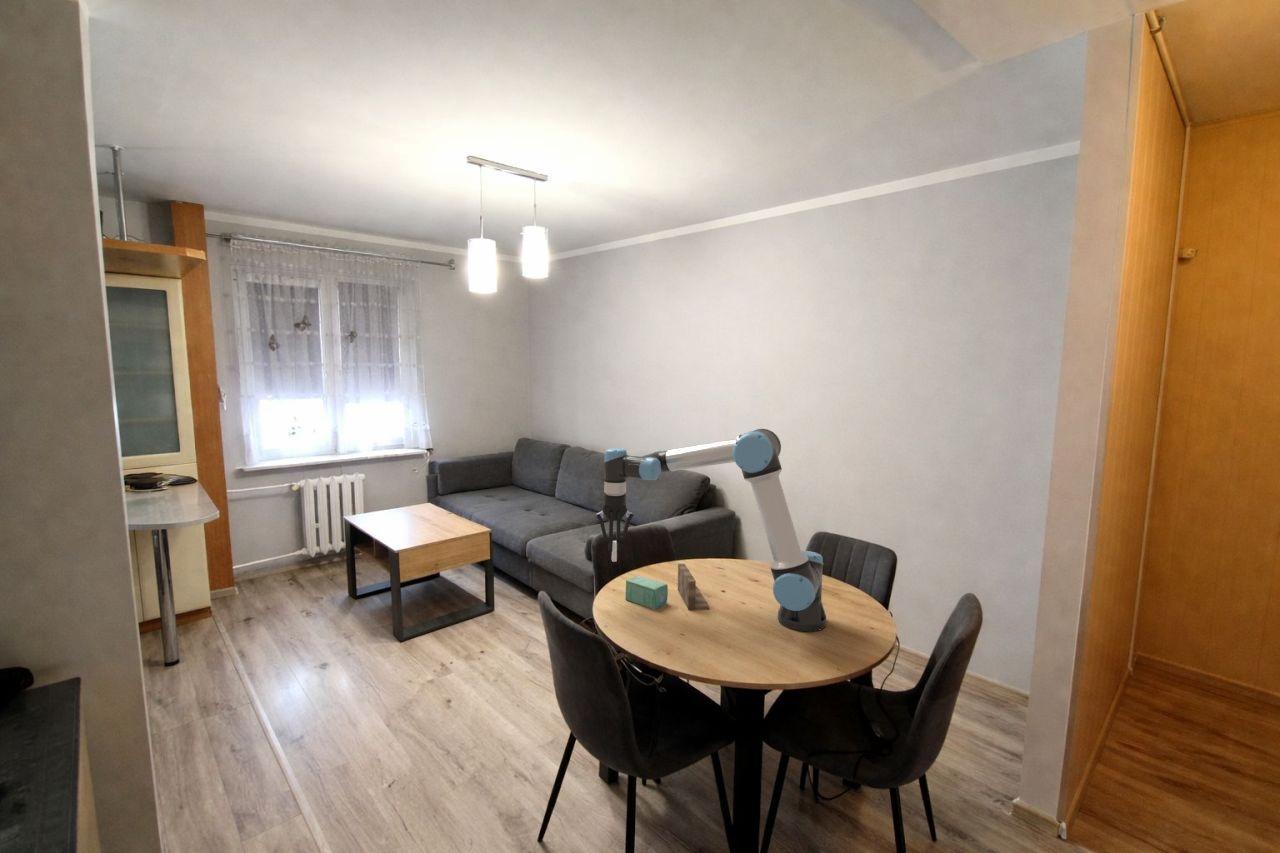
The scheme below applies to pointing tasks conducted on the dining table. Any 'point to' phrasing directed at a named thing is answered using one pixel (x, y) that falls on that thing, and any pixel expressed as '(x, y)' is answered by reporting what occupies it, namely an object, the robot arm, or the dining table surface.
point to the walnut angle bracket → (690, 590)
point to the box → (646, 592)
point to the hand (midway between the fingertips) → (614, 560)
